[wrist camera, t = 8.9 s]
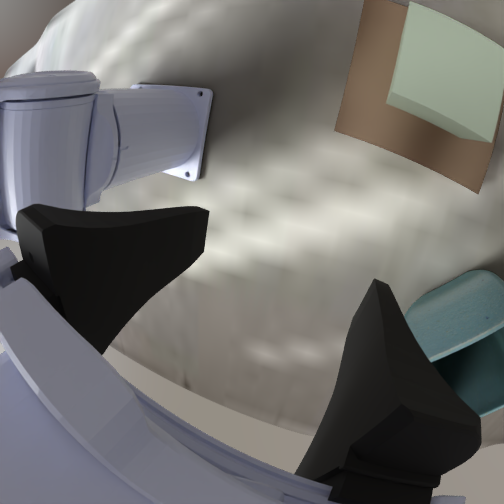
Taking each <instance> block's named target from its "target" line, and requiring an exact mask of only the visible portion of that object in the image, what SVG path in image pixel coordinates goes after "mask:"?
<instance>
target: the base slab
mask: <svg viewBox="0 0 504 504" xmlns="http://www.w3.org/2000/svg"><path fill="white" fill-rule="evenodd" d="M407 11H408V7H406V6H403V5H400V4H397V3H394V2H390V1H387V0H364V4H363V9H362V15H361V20H360V25H359V29H358V34H357V39H356V44H355V48H354V53H353V57H352V61H351V66H350V70H349V74H348V79H347V83H346V87H345V91H344V95H343V99H342V103H341V107H340V111H339V114H338V118H337V122H336V126H335V130H334V131H336V132H339V133H342V134H345V135H348V136H351V137H354V138H357V139H360V140H363V141H365V142H368V143H371V144H373V145H376V146H378V147H381V148H384V149H386V150H389V151H391V152H393V153H396V154H398V155H401V156H403V157H405V158H408V159H410V160H412V161H414V162H417V163H419V164H421V165H423V166H425V167H427V168H429V169H431V170H433V171H436V172H438V173H440V174H442V175H444V176H445V177H447V178H449V179H451V180H453V181H455V182H457V183H459V184H461V185H462V186H464V187H466V188H468V189H470V190H471V191H473V192H475V193H477V194H479V191H480V189H481V186H482V183H483V180H484V177H485V174H486V171H487V168H488V165H489V162H490V159H491V155H492V152H493V148H494V145H495V141H496V137H497V133H498V129H499V125H500V120H501V115H502V110H503V105H504V90H503V96H502V101H501V107H500V112H499V116H498V121H497V125H496V129H495V133H494V137H493V140H492V143H489V142H483V141H476V140H470V139H462V138H459V137H457V136H455V135H454V134H452V133H450V132H448V131H446V130H444V129H442V128H440V127H438V126H436V125H434V124H432V123H430V122H428V121H426V120H424V119H421V118H419V117H417V116H415V115H413V114H410V113H408V112H406V111H403V110H401V109H398V108H396V107H394V106H391V105H388V104H386V101H387V98H388V94H389V90H390V86H391V82H392V78H393V74H394V69H395V65H396V61H397V56H398V51H399V46H400V41H401V36H402V32H403V28H404V24H405V20H406V16H407Z"/></svg>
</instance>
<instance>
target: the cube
mask: <svg viewBox="0 0 504 504" xmlns="http://www.w3.org/2000/svg"><path fill="white" fill-rule="evenodd" d="M503 90H504V48H503V47H501V46H500V45H498V44H497V43H495V42H494V41H492V40H490V39H489V38H487V37H485V36H484V35H482V34H480V33H479V32H477V31H475V30H473V29H471V28H470V27H468V26H466V25H464V24H462V23H460V22H458V21H456V20H454V19H452V18H450V17H448V16H446V15H443V14H441V13H439V12H437V11H434V10H432V9H430V8H427V7H425V6H422V5H420V4H417V3H414V2H411V1H410V3H409V7H408V11H407V16H406V20H405V24H404V28H403V32H402V36H401V41H400V46H399V51H398V56H397V61H396V65H395V69H394V74H393V78H392V82H391V86H390V90H389V94H388V98H387V101H386V104H388V105H391V106H394V107H396V108H398V109H401V110H403V111H406V112H408V113H410V114H413V115H415V116H417V117H419V118H421V119H424V120H426V121H428V122H430V123H432V124H434V125H436V126H438V127H440V128H442V129H444V130H446V131H448V132H450V133H452V134H454V135H455V136H457V137H459V138H462V139H470V140H476V141H483V142H489V143H492V140H493V137H494V133H495V129H496V125H497V121H498V116H499V112H500V107H501V101H502V96H503Z"/></svg>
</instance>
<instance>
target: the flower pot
mask: <svg viewBox="0 0 504 504" xmlns="http://www.w3.org/2000/svg"><path fill="white" fill-rule="evenodd" d="M404 318H405V320H406V322H407V324H408V326H409V328H410V329H411V331H412V333H413V335H414V337H415V339H416V340H417V342H418V344H419V345H420V347H421V348H422V350H423V351H424V353H425V355H426V356H427V358H428V359H429V360H430V362H431V363H432V365H433V366H434V367H435V369H436V370H437V371H438V373H439V374H440V375H441V376H442V378H443V379H444V380H445V381H446V382H447V384H448V385H449V386H450V387H451V388H452V389H453V390H454V392H455V393H456V394H457V395H458V396H459V397H460V398H461V399H462V400H463V401H464V402H465V403H466V404H467V405H468V406H469V407H470V408H471V409H472V410H473V411H475V412H476V413H477V414H478V415H479V416H480V418H481V417H483V416H485V415H488V414H490V413H492V412H495V411H497V410H499V409H501V408H503V407H504V281H503V280H502V279H501V278H500V277H499V276H497V275H496V274H494V273H492V272H490V271H487V270H473V271H469V272H466V273H464V274H462V275H461V276H459V277H457V278H456V279H454V280H452V281H450V282H448V283H446V284H445V285H443V286H441V287H439V288H437V289H435V290H433V291H431V292H429V293H427V294H425V295H423V296H421V297H420V298H419V299H418V300H417V301H416V302H414V303H413V304H412V306H411V307H410V308H409V309H408V311H407V312H406V314H405V316H404Z"/></svg>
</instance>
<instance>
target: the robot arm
mask: <svg viewBox="0 0 504 504" xmlns="http://www.w3.org/2000/svg"><path fill="white" fill-rule="evenodd" d="M99 87H100V80H99V79H97V78H96V76H95V75H94V74H93V73H92V72H87V71H69V70H63V71H42V72H33V73H26V74H20V75H16V76H12V77H8V78H2V79H0V239H7V240H13V241H16V242H19V245H20V249H21V253H22V257H23V260H22V261H20V262H18V261H17V258H16V257H15V255H14V254H13V252H12V251H11V250H10V248H9V247H6V248H4V249H2V250H0V342H1V344H2V346H3V347H4V349H5V351H4V352H3V353H1V354H0V504H465V499H466V497H464V496H445V495H442V496H434V497H432V490H433V488H436V487H438V486H439V484H440V479H441V475H443V474H445V473H447V472H448V471H450V470H452V469H454V468H455V467H457V466H459V465H461V464H463V463H464V462H466V461H467V460H468V459H470V458H471V457H472V456H473V455H474V454H475V453H476V452H477V451H478V449H479V447H480V445H481V419H480V416H479V415H478V414H477V413H476V412H475V411H473V410H472V409H471V408H470V407H469V406H468V405H467V404H466V403H465V402H464V401H463V400H462V399H461V398H460V397H459V396H458V395H457V394H456V393H455V392H454V390H453V389H452V388H451V387H450V386H449V385H448V384H447V382H446V381H445V380H444V379H443V378H442V376H441V375H440V374H439V373H438V371H437V370H436V369H435V367H434V366H433V365H432V363H431V362H430V360H429V359H428V358H427V356H426V355H425V353H424V351H423V350H422V348H421V347H420V345H419V344H418V342H417V340H416V339H415V337H414V335H413V333H412V331H411V329H410V328H409V326H408V324H407V322H406V320H405V318H404V316H403V314H402V312H401V310H400V307H399V305H398V303H397V301H396V299H395V297H394V295H393V293H392V291H391V289H390V287H389V285H388V284H386V283H384V282H381V281H379V280H377V279H374V280H373V282H372V284H371V286H370V287H369V289H368V291H367V293H366V295H365V297H364V299H363V301H362V302H361V304H360V306H359V308H358V310H357V312H356V313H355V315H354V317H353V319H352V322H351V325H350V328H349V331H348V334H347V337H346V342H345V346H344V351H343V356H342V360H341V365H340V369H339V373H338V378H337V382H336V386H335V389H334V392H333V395H332V398H331V400H330V403H329V405H328V408H327V410H326V412H325V415H324V417H323V419H322V422H321V424H320V426H319V428H318V430H317V433H316V435H315V437H314V439H313V441H312V443H311V445H310V447H309V449H308V451H307V452H306V455H305V456H304V458H303V460H302V462H301V463H300V465H299V467H298V469H297V470H296V472H295V474H292V473H289V472H286V471H284V470H281V469H279V468H276V467H274V466H271V465H269V464H267V463H264V462H262V461H260V460H258V459H255V458H253V457H251V456H248V455H247V454H244V453H242V452H240V451H238V450H236V449H234V448H232V447H230V446H228V445H226V444H224V443H222V442H220V441H219V440H217V439H215V438H213V437H211V436H209V435H208V434H206V433H204V432H202V431H201V430H199V429H197V428H196V427H194V426H192V425H190V424H189V423H187V422H185V421H184V420H182V419H181V418H179V417H178V416H176V415H174V414H173V413H171V412H170V411H168V410H167V409H165V408H164V407H162V406H161V405H159V404H158V403H156V402H155V401H154V400H152V399H151V398H149V397H148V396H147V395H145V394H144V393H142V392H141V391H140V390H138V389H137V388H136V387H134V386H133V385H132V384H131V383H129V382H128V381H127V380H125V379H124V378H123V377H122V376H120V375H119V373H118V372H117V371H116V369H115V368H114V367H113V366H112V365H111V364H110V363H109V362H108V361H107V360H106V359H105V358H104V357H103V356H102V354H103V353H104V352H105V350H106V349H107V348H108V346H109V345H110V343H111V342H112V341H113V340H114V338H115V337H116V336H117V335H118V333H119V332H120V331H121V329H122V328H123V327H124V326H125V325H126V324H127V322H128V321H129V320H130V319H131V318H132V317H133V316H134V315H135V313H136V312H137V311H138V310H139V309H140V308H141V307H142V306H143V305H144V304H145V303H146V302H147V301H148V300H149V299H150V298H151V297H153V296H154V295H155V294H156V293H157V292H158V291H160V290H161V289H162V288H164V287H165V286H166V285H167V284H169V283H170V282H171V281H172V280H174V279H175V278H176V277H178V276H179V275H180V274H181V273H183V272H184V271H185V270H186V269H188V268H189V267H190V266H191V265H192V264H193V263H194V262H195V261H196V260H197V259H198V258H199V257H200V255H201V254H202V253H203V252H204V247H205V239H206V232H207V225H208V218H209V211H208V210H206V209H203V208H200V207H197V206H184V207H173V208H163V209H154V210H143V211H131V212H91V211H86V207H89V206H91V205H93V204H96V203H98V202H99V201H100V195H101V193H102V191H104V190H107V189H110V188H112V187H115V186H118V185H121V184H124V183H127V182H130V181H133V180H136V179H139V178H142V177H146V176H149V175H152V174H155V173H159V172H164V173H167V174H171V175H174V176H177V177H180V178H183V179H187V180H190V181H196V180H198V179H199V176H200V169H201V162H202V156H203V149H204V143H205V137H206V131H207V125H208V119H209V114H210V108H211V103H212V98H213V92H212V90H210V89H206V88H196V87H185V86H170V85H145V84H134V85H132V86H131V88H123V89H99ZM141 88H142V89H141ZM201 92H203V95H202V96H200V93H201ZM188 172H189V173H190V176H189V175H188Z"/></svg>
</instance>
